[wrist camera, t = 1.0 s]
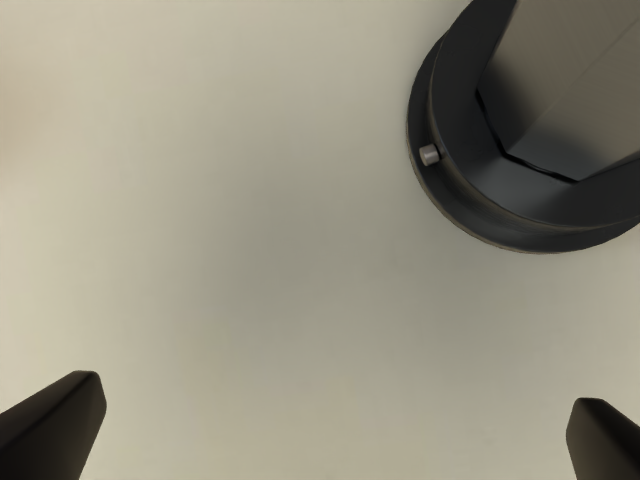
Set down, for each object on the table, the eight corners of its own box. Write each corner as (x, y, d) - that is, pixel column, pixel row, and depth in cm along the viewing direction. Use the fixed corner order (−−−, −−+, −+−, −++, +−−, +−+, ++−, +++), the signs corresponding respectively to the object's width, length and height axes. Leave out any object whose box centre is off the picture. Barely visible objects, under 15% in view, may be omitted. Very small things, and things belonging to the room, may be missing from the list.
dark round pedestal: (723, 196, 21) (806, 175, 17) (463, 292, 21) (484, 293, 18) (606, -35, 22) (656, -105, 18) (368, 62, 23) (368, 15, 19)
